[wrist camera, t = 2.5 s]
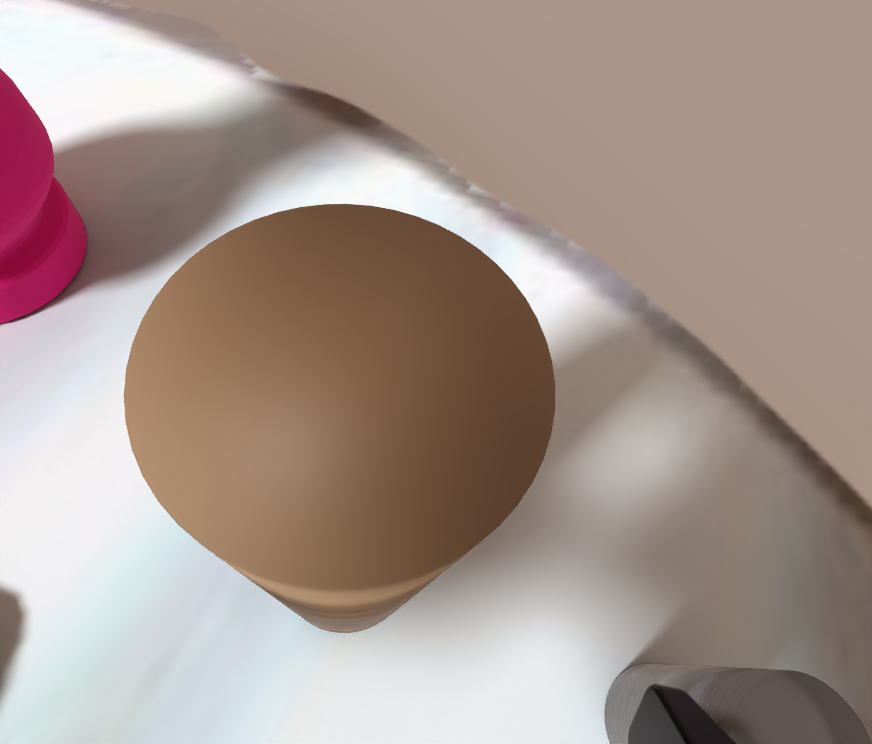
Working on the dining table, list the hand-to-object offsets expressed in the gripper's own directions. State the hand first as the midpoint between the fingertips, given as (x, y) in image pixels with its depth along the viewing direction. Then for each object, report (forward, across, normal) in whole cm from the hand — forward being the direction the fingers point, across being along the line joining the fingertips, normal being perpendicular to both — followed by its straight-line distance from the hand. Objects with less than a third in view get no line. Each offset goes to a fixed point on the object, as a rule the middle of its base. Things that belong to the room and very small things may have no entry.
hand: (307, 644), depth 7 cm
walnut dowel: (+8, 0, +5) cm, 10 cm away
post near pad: (+6, -10, +7) cm, 14 cm away
